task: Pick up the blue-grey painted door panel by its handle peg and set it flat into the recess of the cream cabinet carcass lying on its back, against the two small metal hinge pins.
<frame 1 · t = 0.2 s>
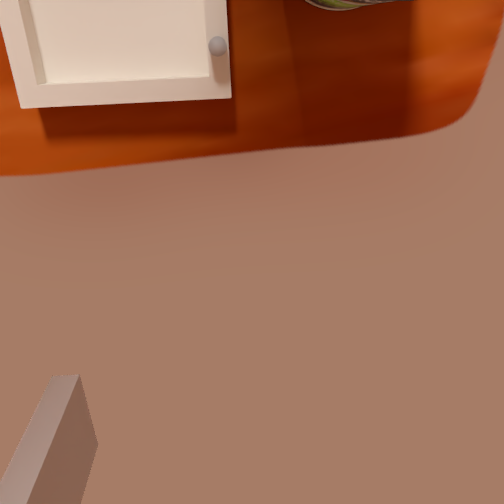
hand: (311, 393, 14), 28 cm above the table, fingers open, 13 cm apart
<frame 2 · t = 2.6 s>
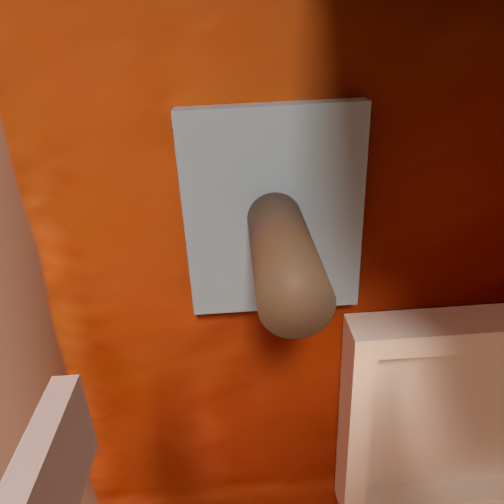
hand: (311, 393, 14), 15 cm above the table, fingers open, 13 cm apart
cabinet carcass: (439, 403, 34), on the table
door: (271, 208, 27), on the table
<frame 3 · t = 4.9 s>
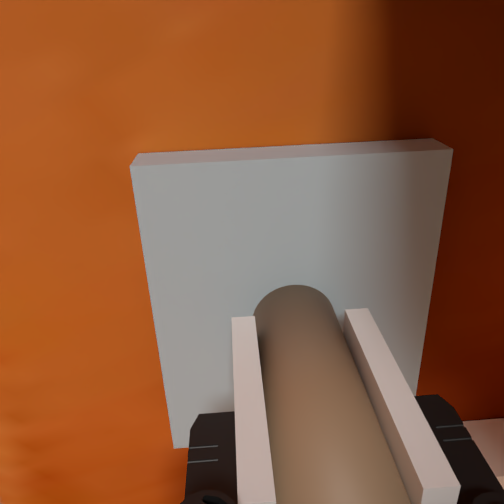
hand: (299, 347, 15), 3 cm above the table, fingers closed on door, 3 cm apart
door: (287, 297, 18), on the table, touching gripper
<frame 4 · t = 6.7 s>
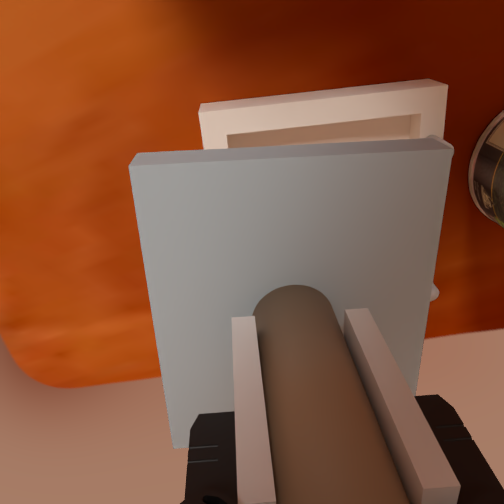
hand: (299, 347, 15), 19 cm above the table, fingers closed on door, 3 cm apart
cabinet carcass: (318, 210, 34), on the table
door: (287, 297, 18), point 16 cm above the table, touching gripper
when the fingers open (6 cm above the table, at t = 9.0 s): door drops 1 cm, resting on cabinet carcass.
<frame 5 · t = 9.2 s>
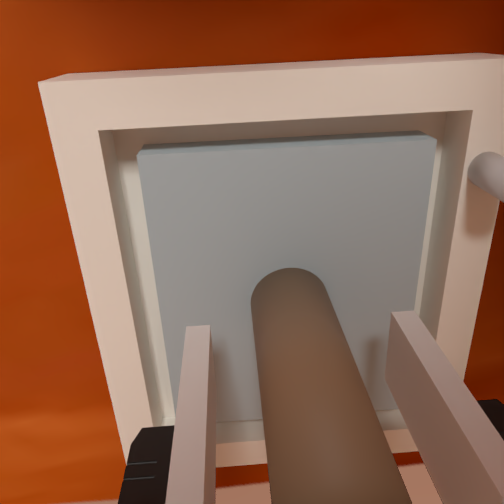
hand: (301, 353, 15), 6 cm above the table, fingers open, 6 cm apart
cabinet carcass: (280, 269, 20), on the table
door: (284, 281, 19), point 1 cm above the table, touching cabinet carcass
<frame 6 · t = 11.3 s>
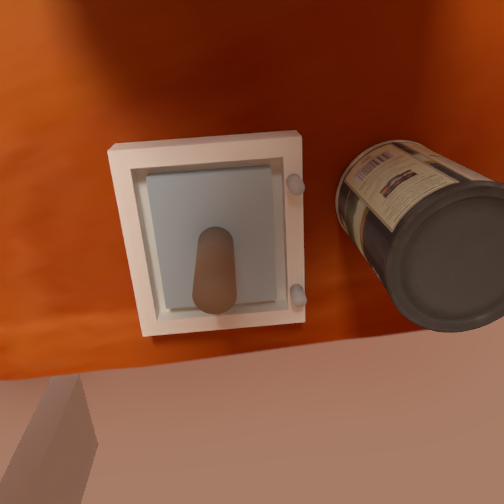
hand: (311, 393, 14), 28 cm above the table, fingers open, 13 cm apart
cabinet carcass: (215, 231, 42), on the table
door: (215, 235, 41), point 1 cm above the table, touching cabinet carcass
coffee can: (390, 195, 42), on the table
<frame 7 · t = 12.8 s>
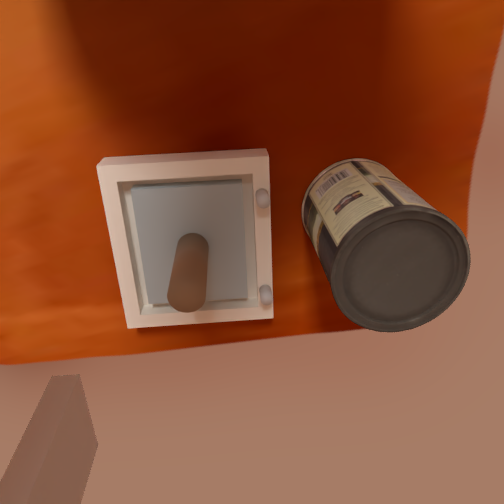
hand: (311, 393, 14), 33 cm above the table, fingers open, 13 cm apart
cabinet carcass: (194, 236, 47), on the table
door: (193, 240, 46), point 1 cm above the table, touching cabinet carcass
coffee can: (351, 207, 47), on the table
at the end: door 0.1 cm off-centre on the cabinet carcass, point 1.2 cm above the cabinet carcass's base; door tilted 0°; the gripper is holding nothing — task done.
